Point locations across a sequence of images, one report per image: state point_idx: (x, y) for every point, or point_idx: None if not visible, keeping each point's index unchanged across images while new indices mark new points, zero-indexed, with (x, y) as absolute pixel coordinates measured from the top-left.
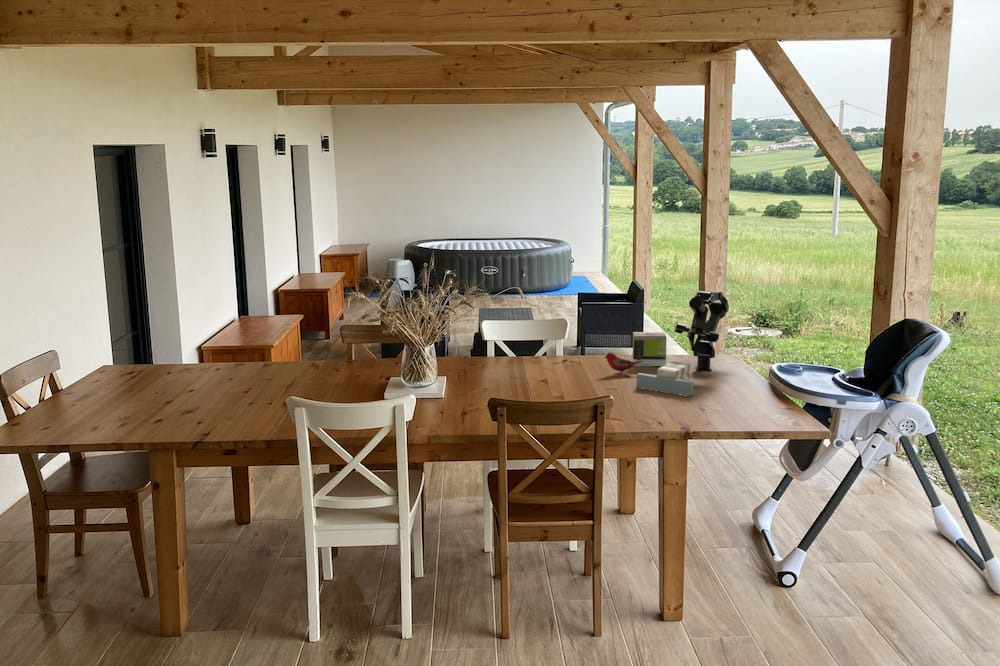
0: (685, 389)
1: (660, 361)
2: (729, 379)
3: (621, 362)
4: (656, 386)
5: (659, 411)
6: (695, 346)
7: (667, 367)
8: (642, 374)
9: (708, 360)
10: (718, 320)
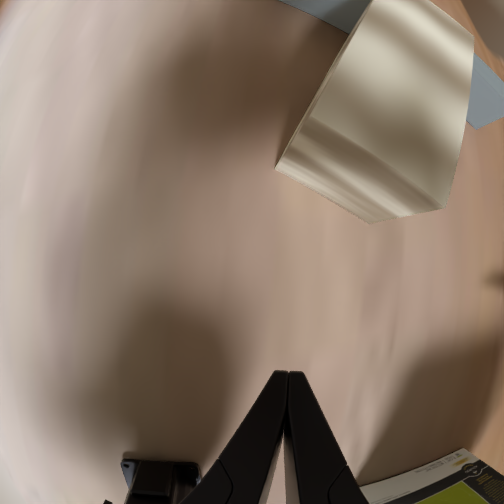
0: None
1: (386, 495)
2: (33, 299)
3: None
4: None
5: None
6: (254, 419)
7: (445, 48)
8: (501, 84)
9: (128, 497)
10: None
